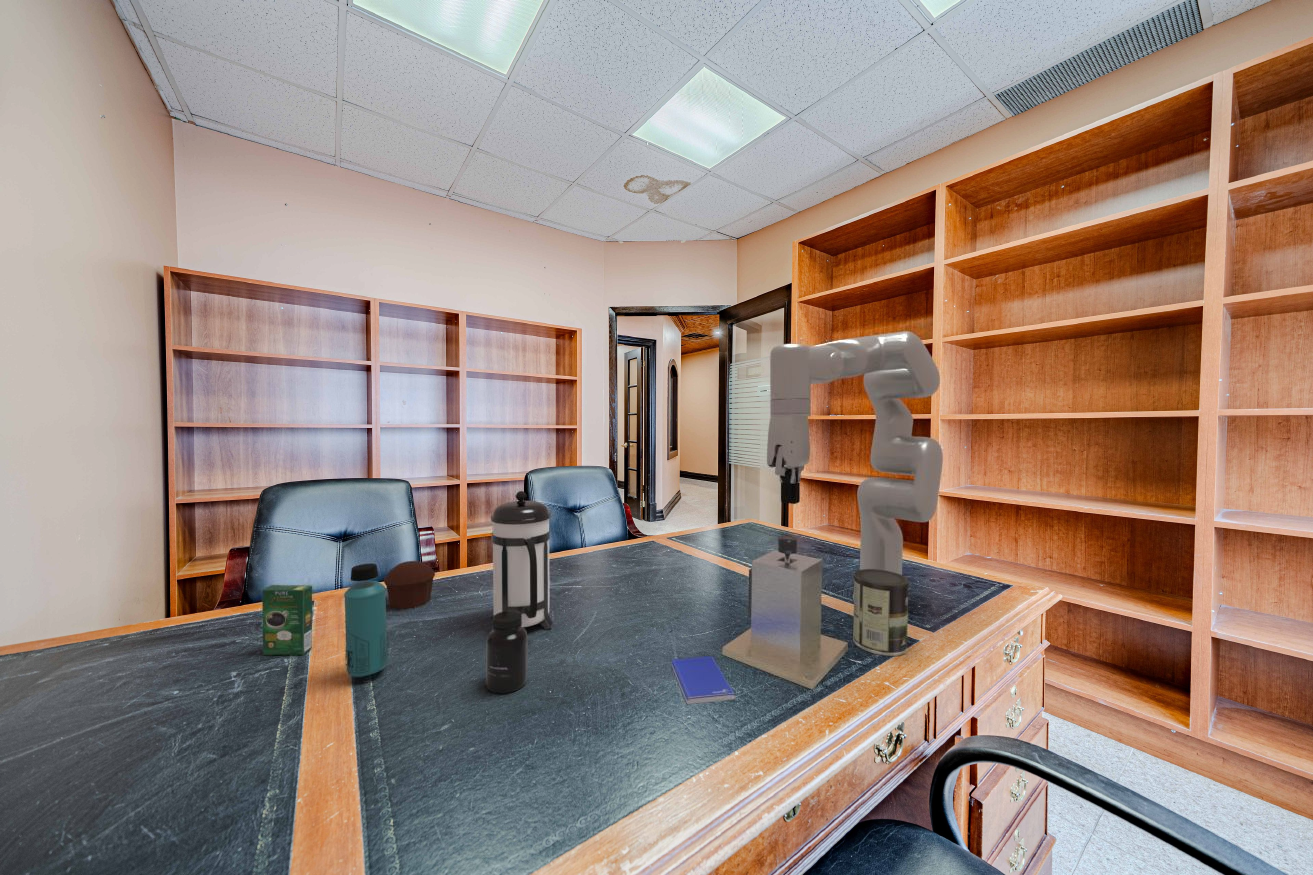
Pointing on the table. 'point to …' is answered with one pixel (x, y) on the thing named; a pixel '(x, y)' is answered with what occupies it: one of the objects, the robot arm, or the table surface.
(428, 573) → the muffin
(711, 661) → the hard drive
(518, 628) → the supplement bottle
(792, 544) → the plunger
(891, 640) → the coffee can
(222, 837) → the table surface
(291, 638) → the coffee box
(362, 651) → the beverage bottle
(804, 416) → the robot arm
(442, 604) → the table surface
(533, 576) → the coffee press
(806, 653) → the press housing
